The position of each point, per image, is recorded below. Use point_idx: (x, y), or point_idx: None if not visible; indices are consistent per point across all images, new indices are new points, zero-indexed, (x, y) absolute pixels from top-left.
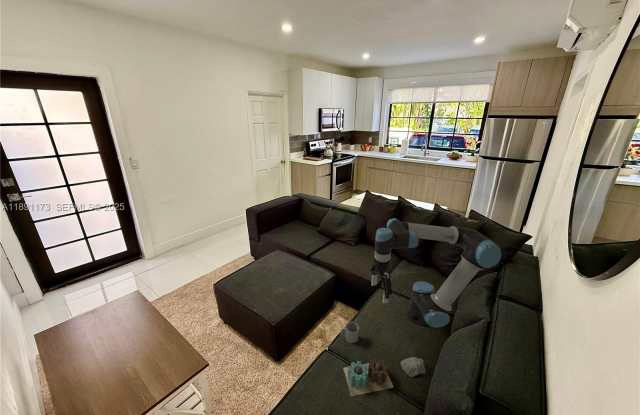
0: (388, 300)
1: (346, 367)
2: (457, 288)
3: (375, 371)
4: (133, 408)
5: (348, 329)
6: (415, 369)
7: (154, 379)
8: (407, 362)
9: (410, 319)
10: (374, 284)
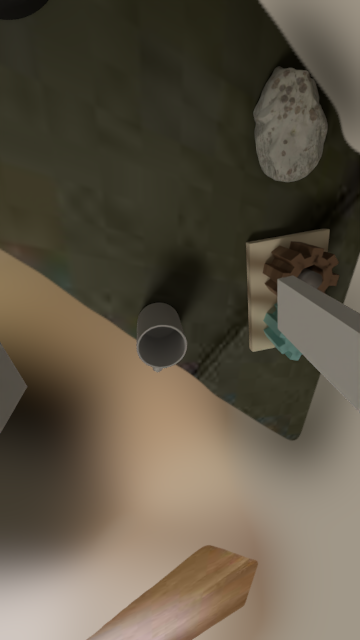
0: (309, 286)
1: (252, 344)
2: None
3: (321, 291)
4: (255, 568)
5: (141, 340)
6: (319, 129)
7: (222, 571)
8: (290, 153)
9: (36, 3)
10: (7, 371)
